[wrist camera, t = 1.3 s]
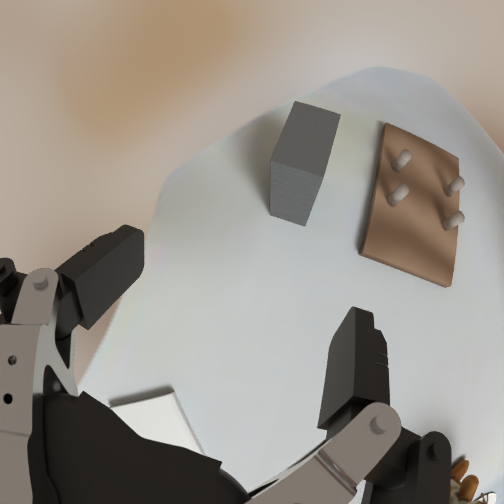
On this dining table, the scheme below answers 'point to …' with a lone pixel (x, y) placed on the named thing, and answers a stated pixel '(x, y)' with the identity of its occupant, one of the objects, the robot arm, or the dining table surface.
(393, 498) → the robot arm
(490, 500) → the pudding
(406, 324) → the dining table surface
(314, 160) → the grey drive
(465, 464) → the stuffed squirrel
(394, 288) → the dining table surface
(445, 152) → the wooden peg stand
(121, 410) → the external hard drive
